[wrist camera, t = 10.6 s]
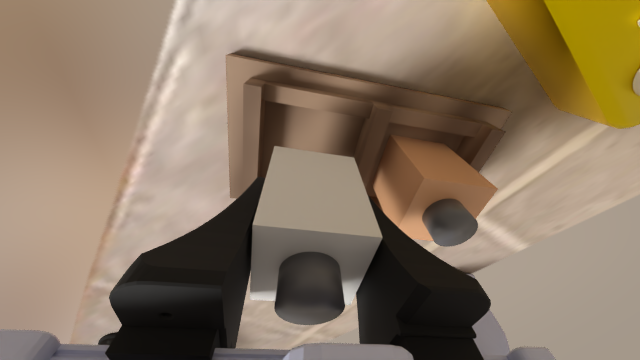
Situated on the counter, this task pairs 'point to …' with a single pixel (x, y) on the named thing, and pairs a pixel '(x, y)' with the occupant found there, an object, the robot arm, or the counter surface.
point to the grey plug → (311, 235)
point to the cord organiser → (342, 119)
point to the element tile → (581, 53)
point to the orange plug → (430, 191)
